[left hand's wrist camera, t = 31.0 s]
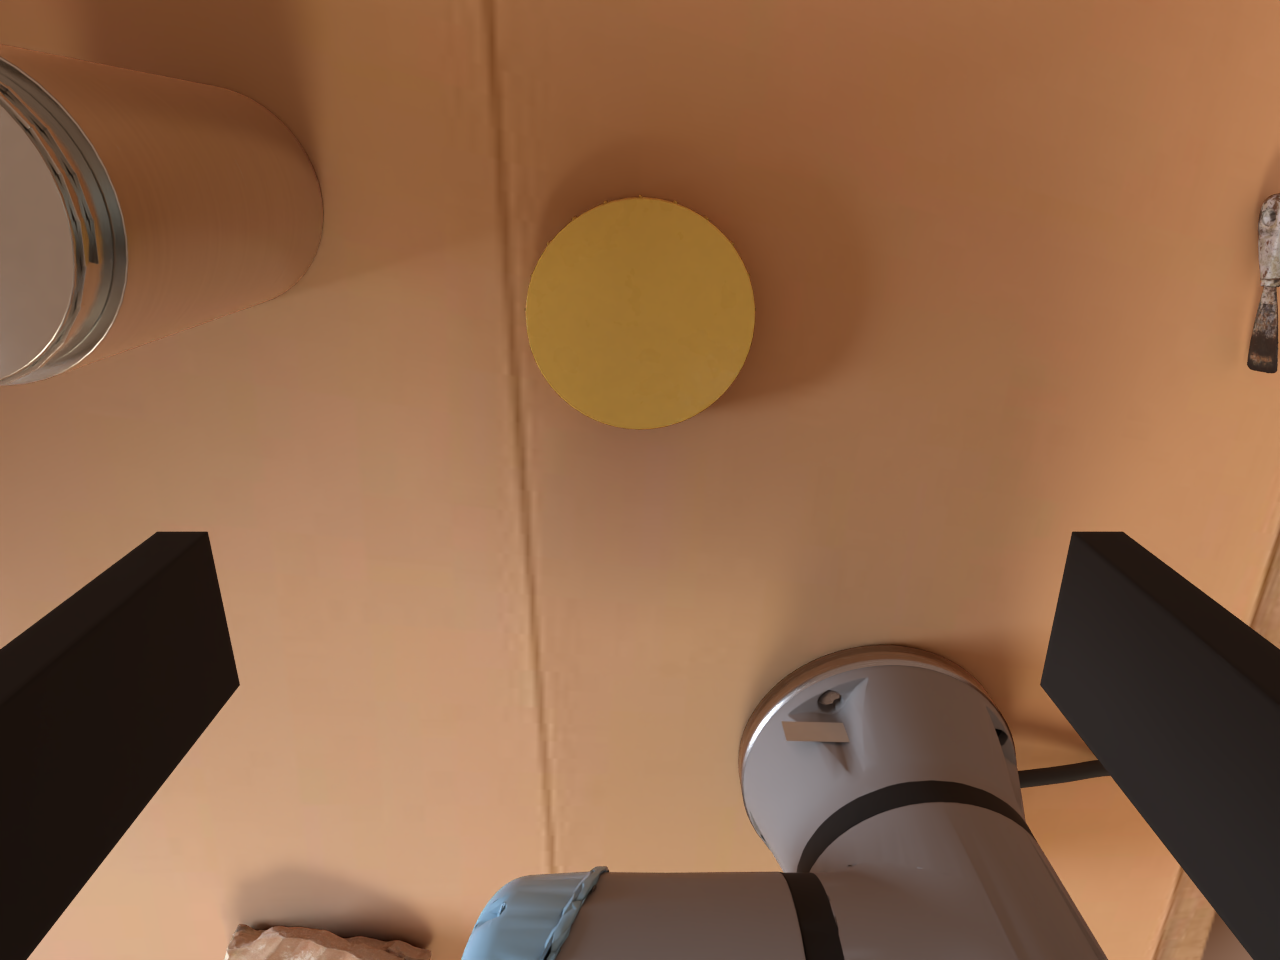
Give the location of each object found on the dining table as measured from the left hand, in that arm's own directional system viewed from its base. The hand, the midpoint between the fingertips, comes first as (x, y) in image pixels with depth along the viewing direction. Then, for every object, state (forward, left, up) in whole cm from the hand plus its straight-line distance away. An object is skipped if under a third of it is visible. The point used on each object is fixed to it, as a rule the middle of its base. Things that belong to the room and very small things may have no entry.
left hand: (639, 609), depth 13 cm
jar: (+20, 0, -27) cm, 34 cm away
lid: (0, 0, -26) cm, 26 cm away
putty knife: (-27, -9, -27) cm, 40 cm away
